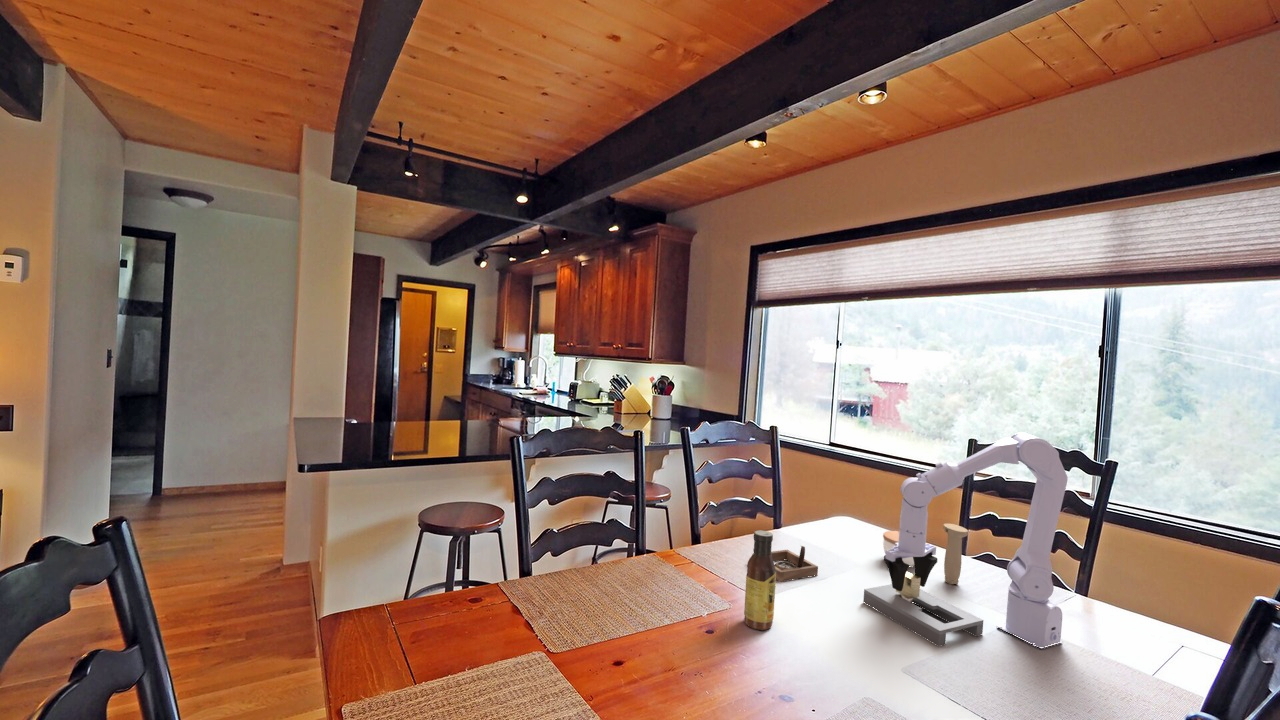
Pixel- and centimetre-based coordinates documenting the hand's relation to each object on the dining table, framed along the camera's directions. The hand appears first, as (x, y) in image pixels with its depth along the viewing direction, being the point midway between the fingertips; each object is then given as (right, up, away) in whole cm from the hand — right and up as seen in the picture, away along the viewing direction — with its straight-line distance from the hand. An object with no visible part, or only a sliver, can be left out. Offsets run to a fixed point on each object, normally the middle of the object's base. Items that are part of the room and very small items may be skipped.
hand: (908, 587), depth 129 cm
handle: (+20, -7, +18) cm, 28 cm away
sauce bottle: (-38, -4, -10) cm, 39 cm away
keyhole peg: (0, -6, 0) cm, 6 cm away
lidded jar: (+12, -6, +30) cm, 33 cm away
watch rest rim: (-24, -4, +21) cm, 32 cm away
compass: (-23, -4, +19) cm, 30 cm away
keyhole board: (+1, -6, -3) cm, 7 cm away
